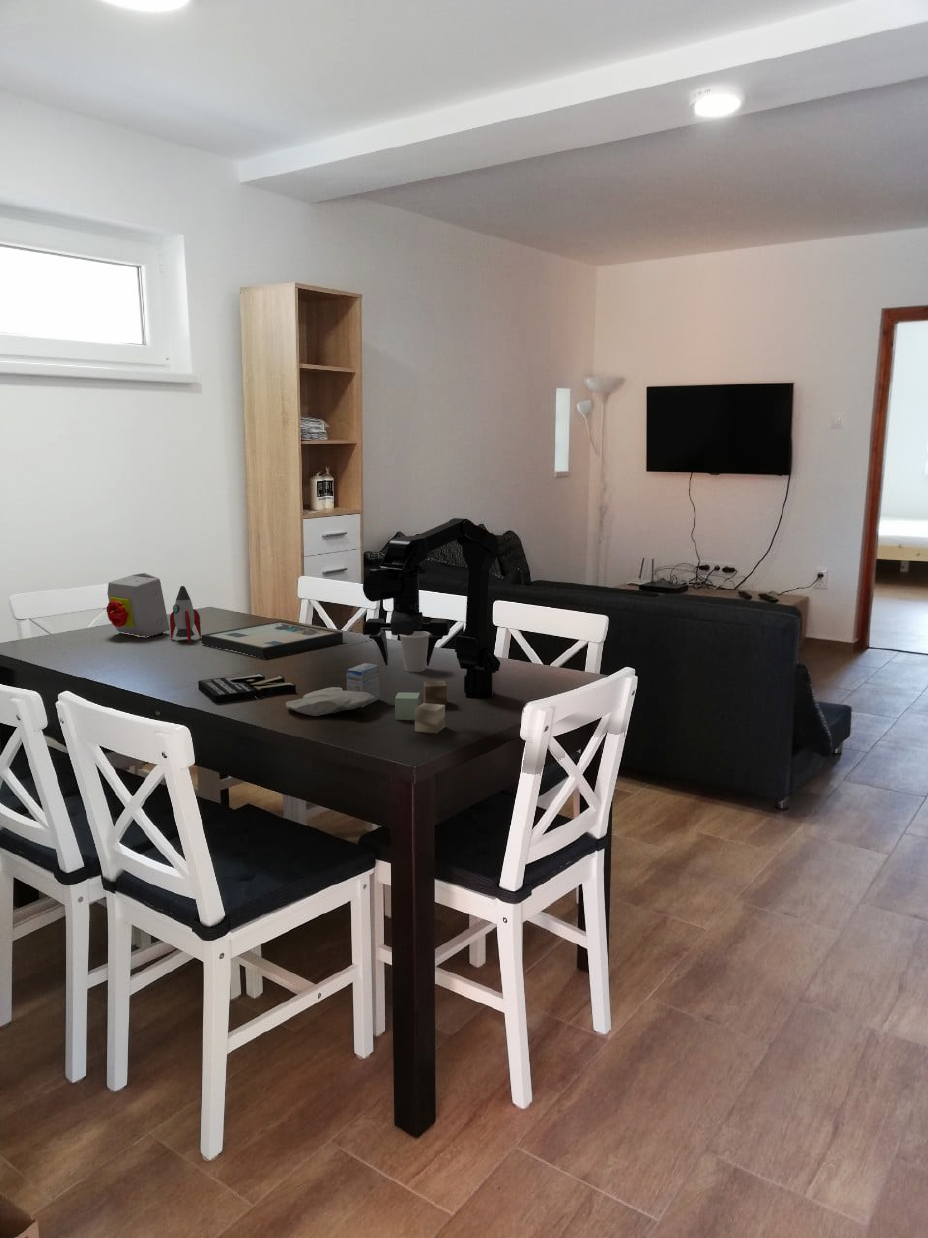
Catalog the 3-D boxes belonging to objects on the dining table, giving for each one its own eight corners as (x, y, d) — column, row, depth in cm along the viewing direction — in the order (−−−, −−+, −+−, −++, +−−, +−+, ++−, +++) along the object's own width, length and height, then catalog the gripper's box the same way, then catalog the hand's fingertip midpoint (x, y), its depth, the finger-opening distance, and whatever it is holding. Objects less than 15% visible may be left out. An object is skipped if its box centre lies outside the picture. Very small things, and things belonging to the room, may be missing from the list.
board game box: (342, 632, 290) (263, 648, 267) (343, 644, 291) (263, 661, 268) (280, 620, 310) (201, 635, 287) (280, 632, 310) (202, 647, 288)
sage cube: (420, 714, 213) (419, 692, 212) (417, 720, 208) (417, 698, 207) (398, 713, 213) (398, 692, 213) (395, 720, 209) (394, 698, 208)
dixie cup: (397, 666, 258) (397, 631, 257) (427, 665, 260) (427, 629, 258) (402, 673, 250) (401, 637, 249) (432, 672, 252) (432, 635, 250)
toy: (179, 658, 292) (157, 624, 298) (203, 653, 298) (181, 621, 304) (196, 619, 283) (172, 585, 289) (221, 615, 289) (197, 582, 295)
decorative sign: (197, 680, 236) (274, 671, 245) (198, 690, 236) (274, 680, 246) (215, 696, 221) (296, 685, 231) (216, 706, 222) (297, 695, 231)
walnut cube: (444, 701, 224) (444, 680, 223) (446, 706, 219) (446, 685, 218) (423, 701, 223) (423, 681, 222) (425, 707, 218) (425, 686, 218)
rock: (326, 729, 203) (380, 709, 213) (323, 709, 202) (377, 690, 212) (272, 717, 218) (324, 699, 228) (269, 698, 217) (321, 680, 227)
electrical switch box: (103, 643, 302) (90, 583, 296) (142, 628, 313) (130, 571, 307) (131, 648, 293) (118, 587, 287) (170, 633, 305) (159, 574, 299)
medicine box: (364, 697, 227) (363, 662, 225) (380, 699, 225) (379, 664, 223) (346, 705, 220) (345, 669, 218) (362, 708, 218) (362, 671, 216)
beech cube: (445, 727, 203) (444, 705, 202) (436, 733, 198) (436, 711, 197) (423, 725, 205) (423, 702, 204) (414, 731, 200) (414, 709, 199)
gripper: (357, 601, 199) (359, 673, 202) (444, 602, 197) (445, 674, 200) (366, 593, 210) (368, 661, 212) (449, 593, 208) (450, 662, 211)
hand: (407, 665), depth 209 cm, fingers open, 9 cm apart
